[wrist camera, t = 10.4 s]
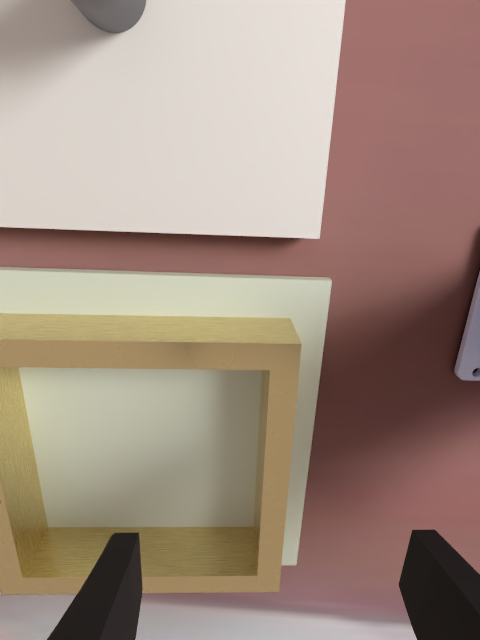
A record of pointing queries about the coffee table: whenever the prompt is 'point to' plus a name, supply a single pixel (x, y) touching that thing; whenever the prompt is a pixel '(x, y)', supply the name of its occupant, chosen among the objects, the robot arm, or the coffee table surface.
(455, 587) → the robot arm
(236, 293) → the mat
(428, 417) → the coffee table surface
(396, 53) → the coffee table surface
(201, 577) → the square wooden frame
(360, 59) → the coffee table surface
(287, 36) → the post stand
